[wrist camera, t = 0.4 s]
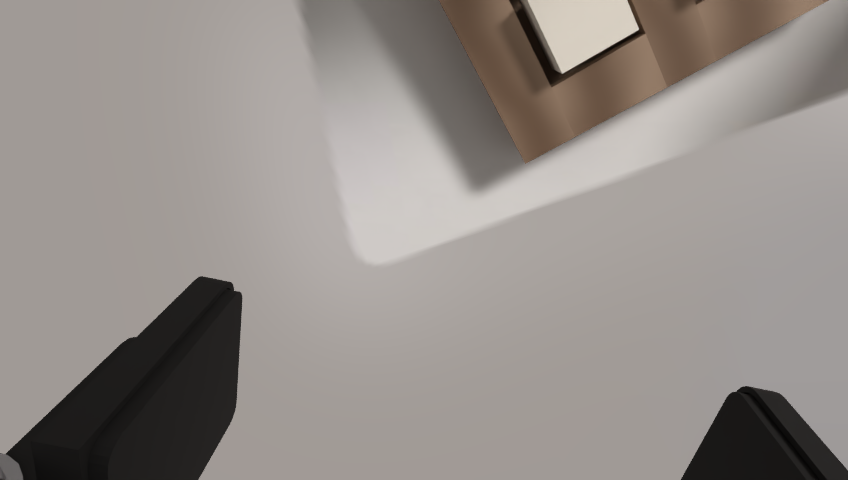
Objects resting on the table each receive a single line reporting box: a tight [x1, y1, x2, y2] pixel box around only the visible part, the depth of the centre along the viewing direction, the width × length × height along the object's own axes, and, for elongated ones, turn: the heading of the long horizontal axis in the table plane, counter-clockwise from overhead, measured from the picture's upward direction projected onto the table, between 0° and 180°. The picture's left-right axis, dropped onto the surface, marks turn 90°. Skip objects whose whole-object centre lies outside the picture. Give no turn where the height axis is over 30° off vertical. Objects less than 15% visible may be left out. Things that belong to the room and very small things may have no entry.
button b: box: [520, 0, 639, 74], centre depth 29 cm, size 5×5×4 cm
